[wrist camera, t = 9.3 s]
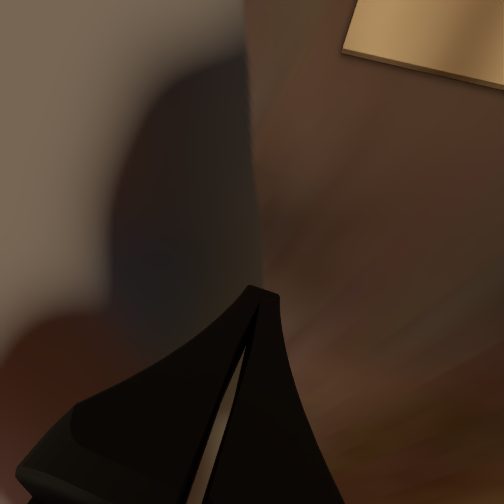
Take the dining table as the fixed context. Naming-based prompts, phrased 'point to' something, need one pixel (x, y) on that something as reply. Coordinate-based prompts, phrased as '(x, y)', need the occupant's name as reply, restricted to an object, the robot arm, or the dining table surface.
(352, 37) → the board
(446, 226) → the dining table surface
